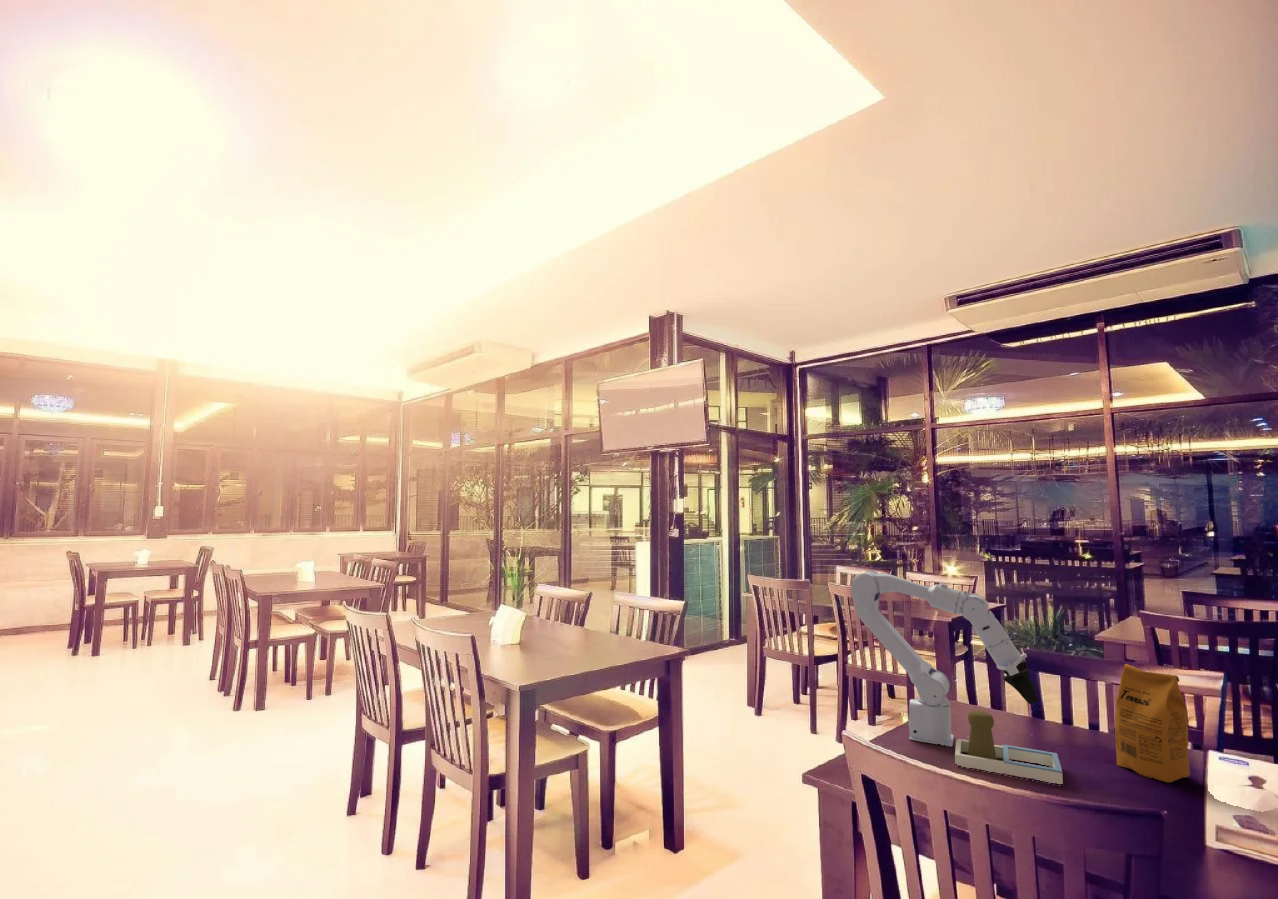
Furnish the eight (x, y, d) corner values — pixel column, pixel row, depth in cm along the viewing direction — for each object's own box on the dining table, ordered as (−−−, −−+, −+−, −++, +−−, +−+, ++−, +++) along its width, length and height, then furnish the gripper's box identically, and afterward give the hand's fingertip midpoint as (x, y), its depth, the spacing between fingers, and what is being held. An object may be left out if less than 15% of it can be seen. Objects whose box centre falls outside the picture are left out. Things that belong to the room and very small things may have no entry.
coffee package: (1138, 758, 148) (1133, 660, 150) (1199, 780, 136) (1193, 674, 138) (1106, 763, 145) (1102, 663, 147) (1166, 786, 133) (1160, 677, 135)
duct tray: (955, 766, 142) (954, 752, 143) (957, 749, 152) (956, 736, 152) (1062, 785, 133) (1062, 771, 133) (1057, 766, 143) (1056, 753, 143)
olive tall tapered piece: (1001, 769, 141) (999, 717, 142) (971, 766, 142) (970, 715, 143) (992, 758, 147) (990, 708, 148) (963, 755, 148) (962, 706, 149)
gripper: (1014, 640, 145) (1053, 699, 141) (1013, 631, 158) (1048, 685, 153) (984, 653, 148) (1021, 711, 143) (985, 643, 160) (1019, 696, 156)
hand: (1033, 698), depth 148 cm, fingers open, 7 cm apart
